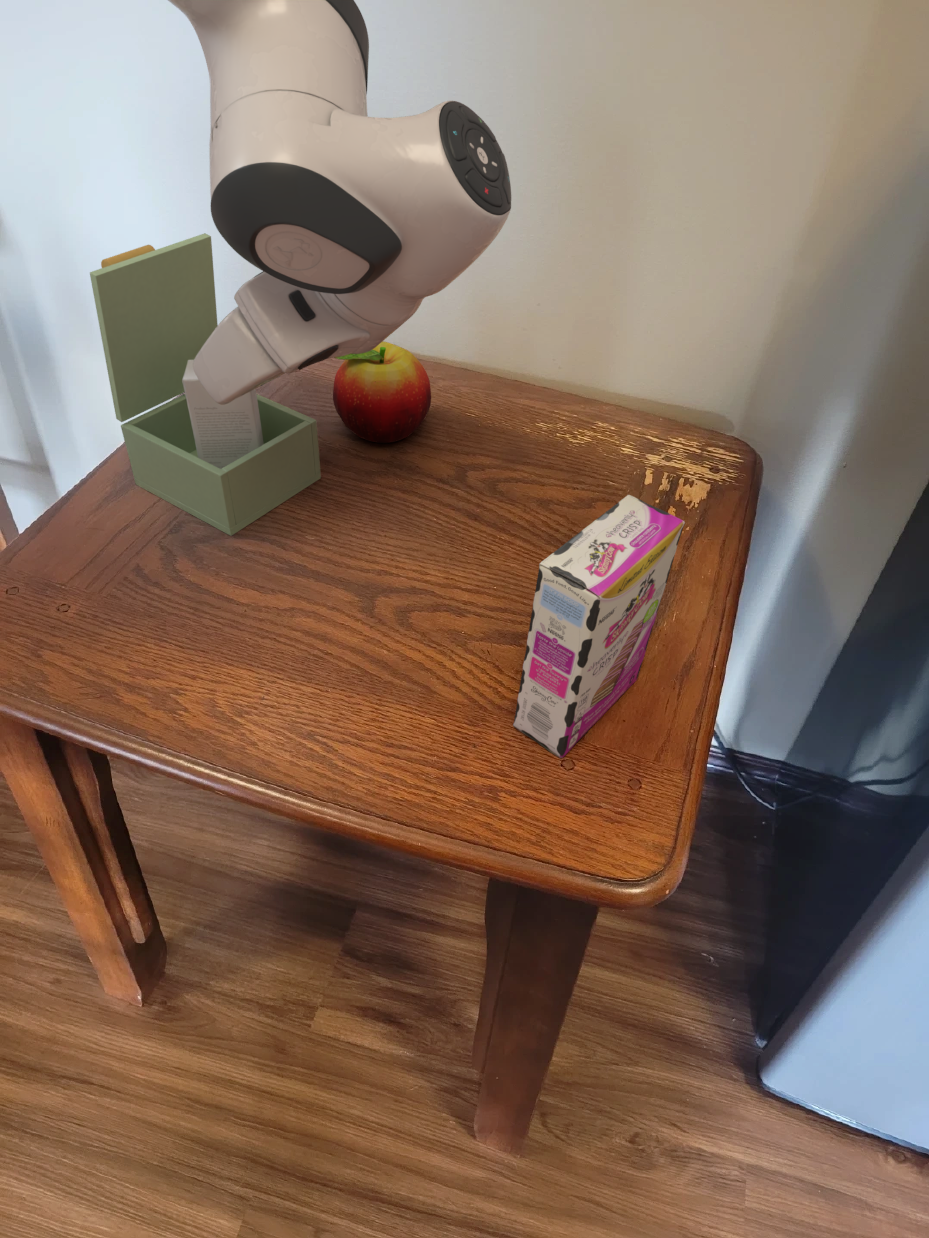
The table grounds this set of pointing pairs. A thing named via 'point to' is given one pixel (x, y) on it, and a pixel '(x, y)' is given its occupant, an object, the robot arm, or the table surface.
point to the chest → (238, 488)
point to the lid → (154, 319)
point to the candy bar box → (593, 621)
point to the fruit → (382, 393)
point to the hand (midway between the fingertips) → (267, 370)
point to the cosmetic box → (221, 423)
